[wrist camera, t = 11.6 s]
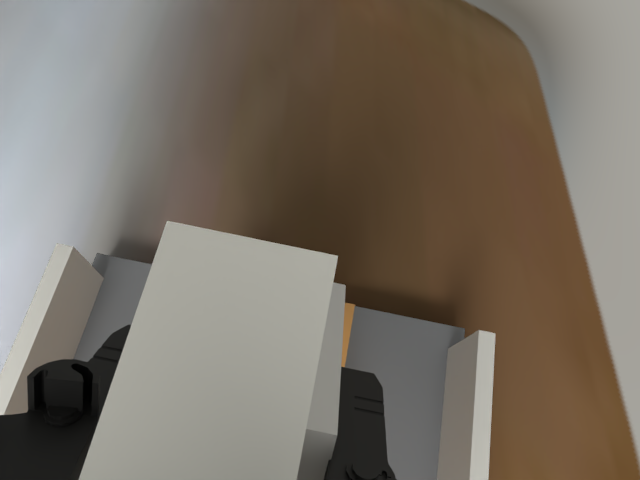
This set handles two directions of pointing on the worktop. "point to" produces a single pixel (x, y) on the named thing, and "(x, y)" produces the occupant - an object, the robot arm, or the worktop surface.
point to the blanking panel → (216, 362)
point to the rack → (357, 353)
